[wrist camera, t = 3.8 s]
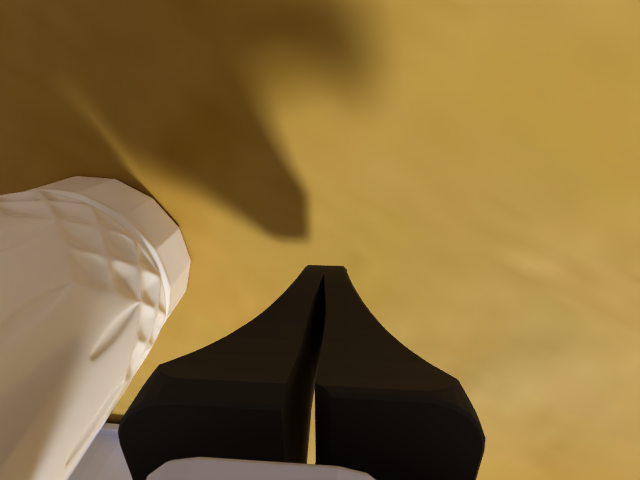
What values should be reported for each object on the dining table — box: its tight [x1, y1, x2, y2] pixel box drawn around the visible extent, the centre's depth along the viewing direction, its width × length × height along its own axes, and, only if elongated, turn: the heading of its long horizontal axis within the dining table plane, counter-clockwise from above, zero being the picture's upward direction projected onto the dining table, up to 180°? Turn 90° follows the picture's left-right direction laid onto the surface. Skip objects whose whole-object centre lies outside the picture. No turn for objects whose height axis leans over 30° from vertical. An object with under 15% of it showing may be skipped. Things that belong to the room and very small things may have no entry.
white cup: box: [0, 176, 191, 480], centre depth 10 cm, size 8×8×10 cm
